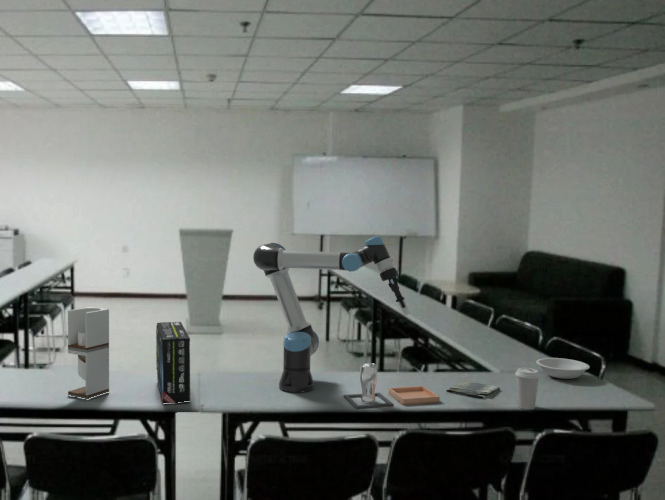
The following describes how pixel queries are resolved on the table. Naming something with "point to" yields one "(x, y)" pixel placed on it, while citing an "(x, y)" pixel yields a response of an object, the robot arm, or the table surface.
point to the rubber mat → (388, 403)
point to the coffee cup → (527, 387)
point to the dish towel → (474, 389)
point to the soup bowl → (562, 367)
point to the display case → (90, 349)
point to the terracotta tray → (413, 395)
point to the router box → (173, 362)
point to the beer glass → (368, 382)
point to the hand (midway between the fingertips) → (407, 314)
